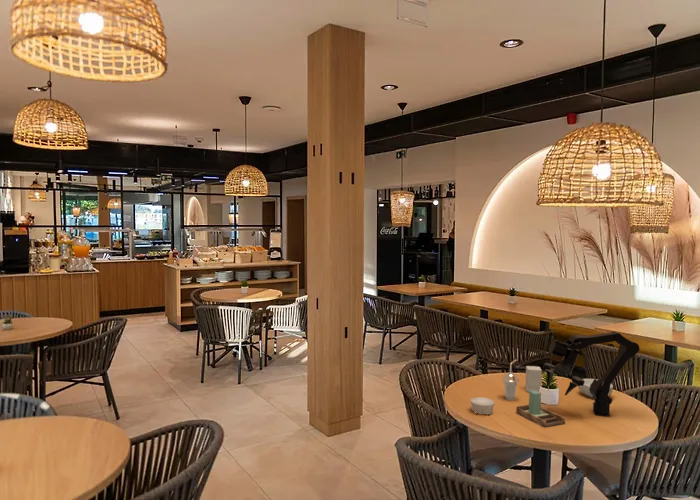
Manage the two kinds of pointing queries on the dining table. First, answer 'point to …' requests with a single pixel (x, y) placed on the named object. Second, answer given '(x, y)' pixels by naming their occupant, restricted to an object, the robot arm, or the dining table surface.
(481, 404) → the ramekin
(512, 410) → the dining table surface
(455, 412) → the dining table surface
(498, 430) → the dining table surface
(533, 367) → the supplement box
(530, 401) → the block
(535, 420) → the tray
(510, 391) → the cup with straw
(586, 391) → the cereal bowl
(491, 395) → the dining table surface
